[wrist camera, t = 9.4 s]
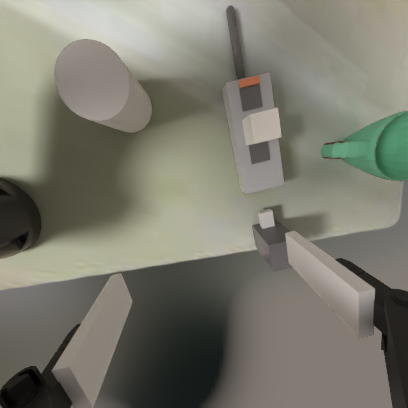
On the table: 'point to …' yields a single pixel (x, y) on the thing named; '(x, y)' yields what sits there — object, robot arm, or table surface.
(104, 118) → the pale pink cylinder
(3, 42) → the table surface
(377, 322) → the robot arm
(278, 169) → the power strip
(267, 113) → the block
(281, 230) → the grey rectangular block
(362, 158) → the mug
